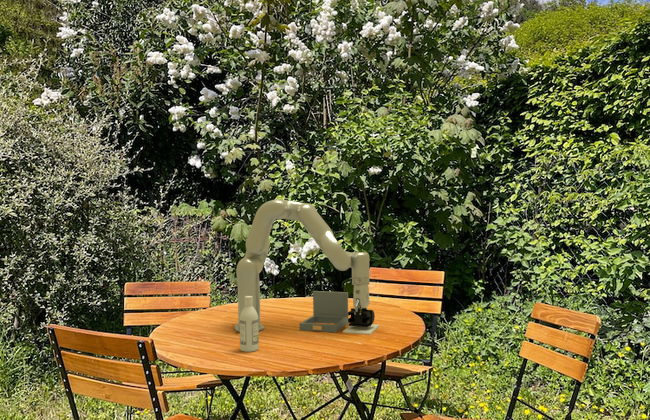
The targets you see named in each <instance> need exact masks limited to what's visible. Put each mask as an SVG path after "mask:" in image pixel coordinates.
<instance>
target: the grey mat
mask: <svg viewBox="0 0 650 420" xmlns="http://www.w3.org/2000/svg"><path fill="white" fill-rule="evenodd" d="M379 327H380V324H374V323H373V324H372V325H371V326H370V327H368V328H366V327H356V326H349V325H348V327H346V328H345V329H344V330H343V331H342V333H345V334H357V335H370V336H371V335H372V334H373V333H374V332H375V331H376V330H377V329H379Z"/></svg>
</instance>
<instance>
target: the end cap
mask: <svg viewBox="0 0 650 420" xmlns="http://www.w3.org/2000/svg"><path fill="white" fill-rule="evenodd" d="M359 310H360V309H359ZM361 315H362V324H355V308H354V307H350V311H349V310H348V324H347V325H348V327H349V326H356V327H366V328H368V327H370V326H371V325H372V324H374V323H375V317H376V316H375V311H374V310H373V309H367V310H366V309H362V313H361ZM349 316H350V317H349Z"/></svg>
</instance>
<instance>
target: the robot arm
mask: <svg viewBox="0 0 650 420" xmlns="http://www.w3.org/2000/svg"><path fill="white" fill-rule="evenodd" d="M281 219H283V220H284V219H285V220H291V221H296V222H300V223H301V225H302V227H304V229H305V230H306V231H307V233H308V234H309V235H310V236H311V237H312V239H313V240H314V242H315V243H316V244H317V246H318V247H319V248H320V250H321V251H322V253H323V254H324V256H326V258H327V259H328V260H329V262H330V263H331V264H332V265H333V266H334V268H335V270H338V271H341V272H344V271H347V270H349V269H350V268H351V285H353V293H352V294H353V297H352V298H353V299H352V302H353V308H355V324H362V315H361V313H362V309H366V310H368V307H369V306H370V287H369V285H370V255H369V252H365V251H357V252H352V251H351V252H350V251H345V249H344V248H343V246H342V245H341V244H340V243H339V242H338V240H337V239H336V237H335V235H334V233H333V231H332V229H331V228H330V226H329V225H328V223H327V222H326V221H325V220H324V219H323V217H322V216H321V215H320V214H319V212H318V211H317V208H316V207H315V206H314V205H313V204H311V203H309V202H308V203H307V202H306V203H305V202H298V201H292V200H287V199H282V198H281V199H279V198H278V199H272V200H269V201H265V202H264V203H262V204H261V206H260V207H259V208H258V209H257V211H256V213H255V215H254V218H253V220H252V224H251V226H250V230H249V232H248V234H247V238H246V241H245V250H246V251H245V255H244V256H243V258H241V259H240V260H239V261H238V263H237V265H236V269H235V270H236V280H237V281H236V282H237V283H236V284H237V313H238V314H237V315H238V317H237V318H238V319H237V320H238V321H237V324H235V325H234V331H236V332H239V333H240V314H241V312H242V310H243V308H244V307H245V296H252V297H253V307H254V309H255V310H256V312H257V314H258V332H260V331H263V330H264V329H265V326H264V324H262V323H261V290H260V289H261V287H260V286H261V285H260V284H261V283H260V273H261V272H262V271H263V268H264V266H265V262H266V259H267V256H268V253H269V250H270V246H271V245H270V244H271V239H270V238H269V237H270V233H271V231H272V227H273V223H274V222H275V221H276V220H281ZM359 309H360V310H359Z"/></svg>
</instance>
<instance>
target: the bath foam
mask: <svg viewBox="0 0 650 420" xmlns="http://www.w3.org/2000/svg"><path fill="white" fill-rule="evenodd" d="M259 332H260V331H258V314H257V312H256V310H255V309H254V307H253V297H252V296H245V307H244V308H243V310H242V312H241V314H240V332H239V349H240V351H242V352H244V353H247V352H248V353H249V352H250V353H253V352H256V351H258V350H259V348H260V347H259V346H260V344H259V342H260V341H259Z"/></svg>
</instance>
